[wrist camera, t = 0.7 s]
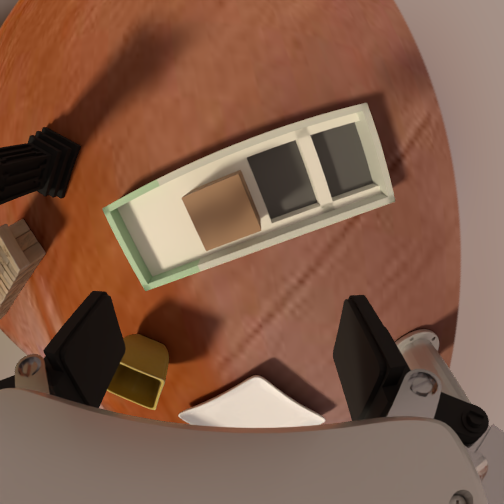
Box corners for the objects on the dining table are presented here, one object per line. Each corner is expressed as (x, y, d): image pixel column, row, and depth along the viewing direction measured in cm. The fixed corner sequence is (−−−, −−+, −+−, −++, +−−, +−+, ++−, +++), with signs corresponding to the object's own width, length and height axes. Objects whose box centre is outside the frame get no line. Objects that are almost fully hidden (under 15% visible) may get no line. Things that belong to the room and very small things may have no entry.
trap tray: (381, 194, 32) (395, 201, 28) (155, 276, 37) (145, 291, 33) (354, 106, 28) (366, 102, 24) (116, 201, 33) (102, 208, 29)
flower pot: (128, 319, 40) (106, 356, 31) (179, 340, 41) (165, 381, 33) (122, 353, 43) (104, 389, 35) (167, 372, 44) (155, 411, 36)
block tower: (7, 313, 43) (51, 249, 36) (-13, 334, 35) (19, 273, 28) (-11, 287, 40) (27, 212, 33) (-33, 305, 33) (-8, 230, 25)
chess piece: (31, 175, 31) (-68, 213, 12) (46, 127, 28) (-63, 142, 10) (64, 197, 32) (-41, 249, 14) (81, 145, 30) (-37, 169, 11)
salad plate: (249, 443, 54) (249, 454, 51) (178, 404, 48) (175, 417, 45) (326, 409, 49) (328, 421, 45) (257, 360, 43) (257, 375, 40)
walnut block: (260, 218, 32) (261, 230, 27) (212, 236, 32) (206, 251, 28) (240, 169, 29) (238, 174, 25) (191, 190, 30) (181, 197, 26)
